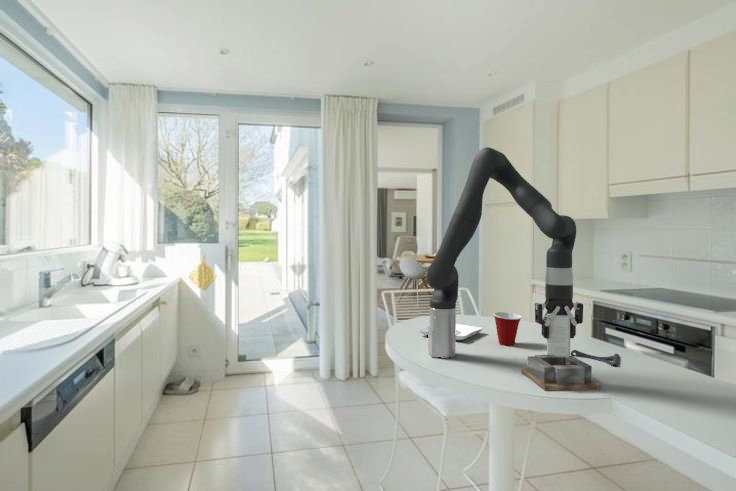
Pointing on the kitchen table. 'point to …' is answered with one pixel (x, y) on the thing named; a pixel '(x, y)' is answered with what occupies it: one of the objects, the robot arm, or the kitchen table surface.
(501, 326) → the plastic cup
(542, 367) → the holder
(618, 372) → the kitchen table surface
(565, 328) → the skincare box
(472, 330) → the salad plate
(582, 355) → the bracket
